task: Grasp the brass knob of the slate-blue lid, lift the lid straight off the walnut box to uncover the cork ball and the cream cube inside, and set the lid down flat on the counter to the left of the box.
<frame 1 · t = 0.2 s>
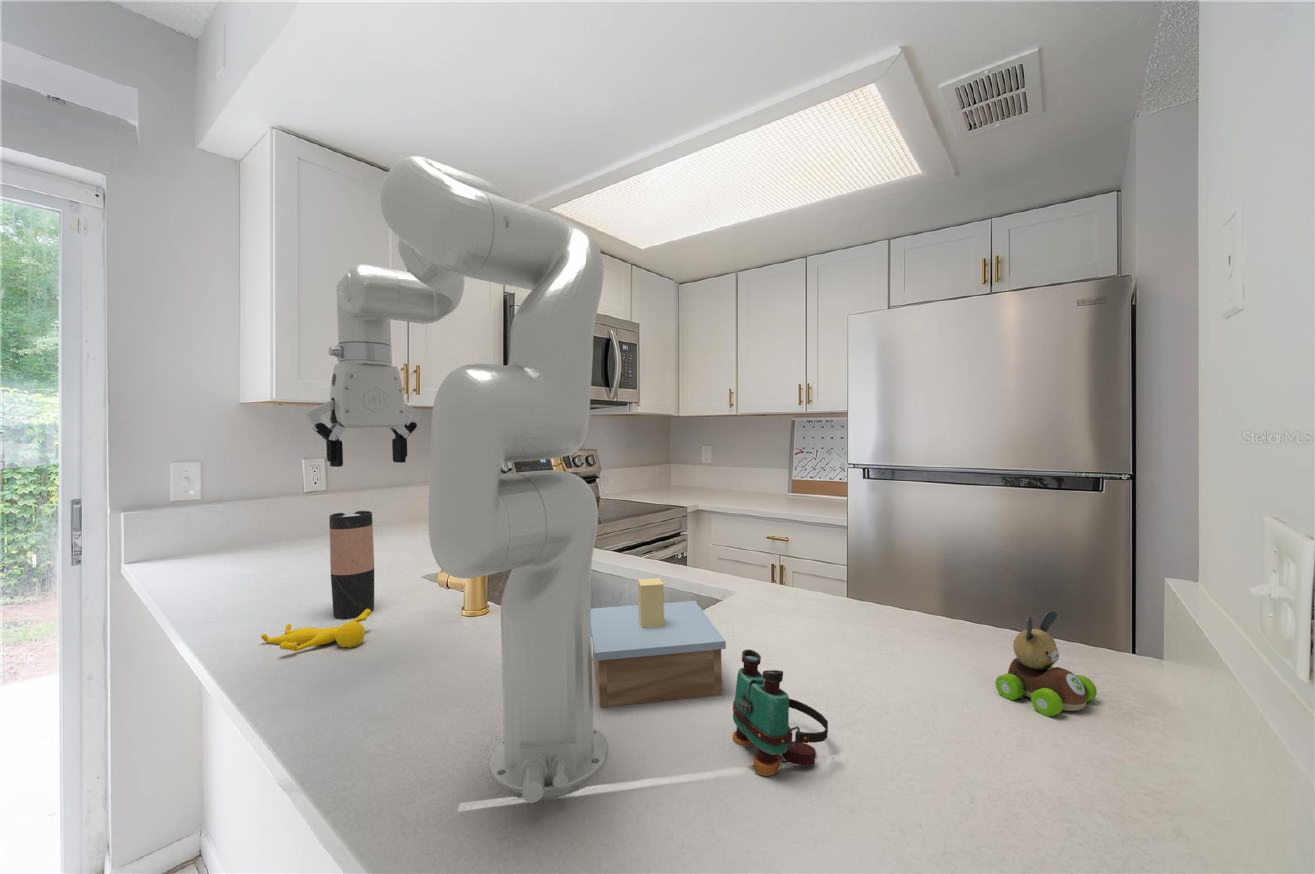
hand: (369, 464, 88), 31 cm above the worktop, tool pointing down, fingers open, 9 cm apart
toy car: (1045, 700, 71), on the worktop
figurine: (316, 645, 95), on the worktop
cork ball: (637, 684, 75), point 1 cm above the worktop, touching box
travel mug: (354, 614, 110), on the worktop
box: (652, 678, 79), on the worktop
lid: (651, 630, 79), point 7 cm above the worktop, touching box
binoculars: (778, 753, 61), on the worktop
cream cube: (666, 664, 82), point 1 cm above the worktop, touching box
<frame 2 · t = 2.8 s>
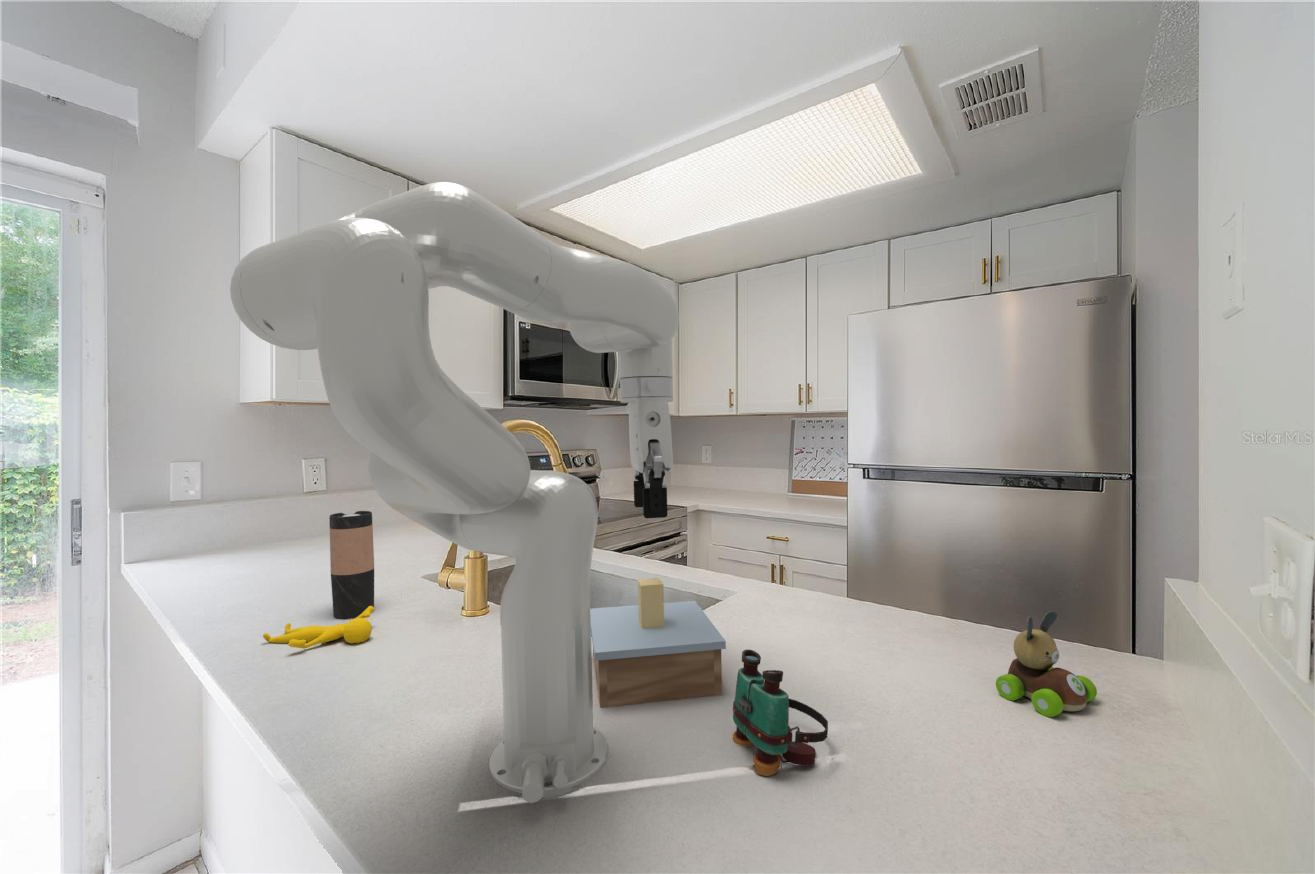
hand: (649, 511, 78), 24 cm above the worktop, tool pointing down, fingers open, 9 cm apart
figurine: (321, 642, 96), on the worktop
everything else where it was.
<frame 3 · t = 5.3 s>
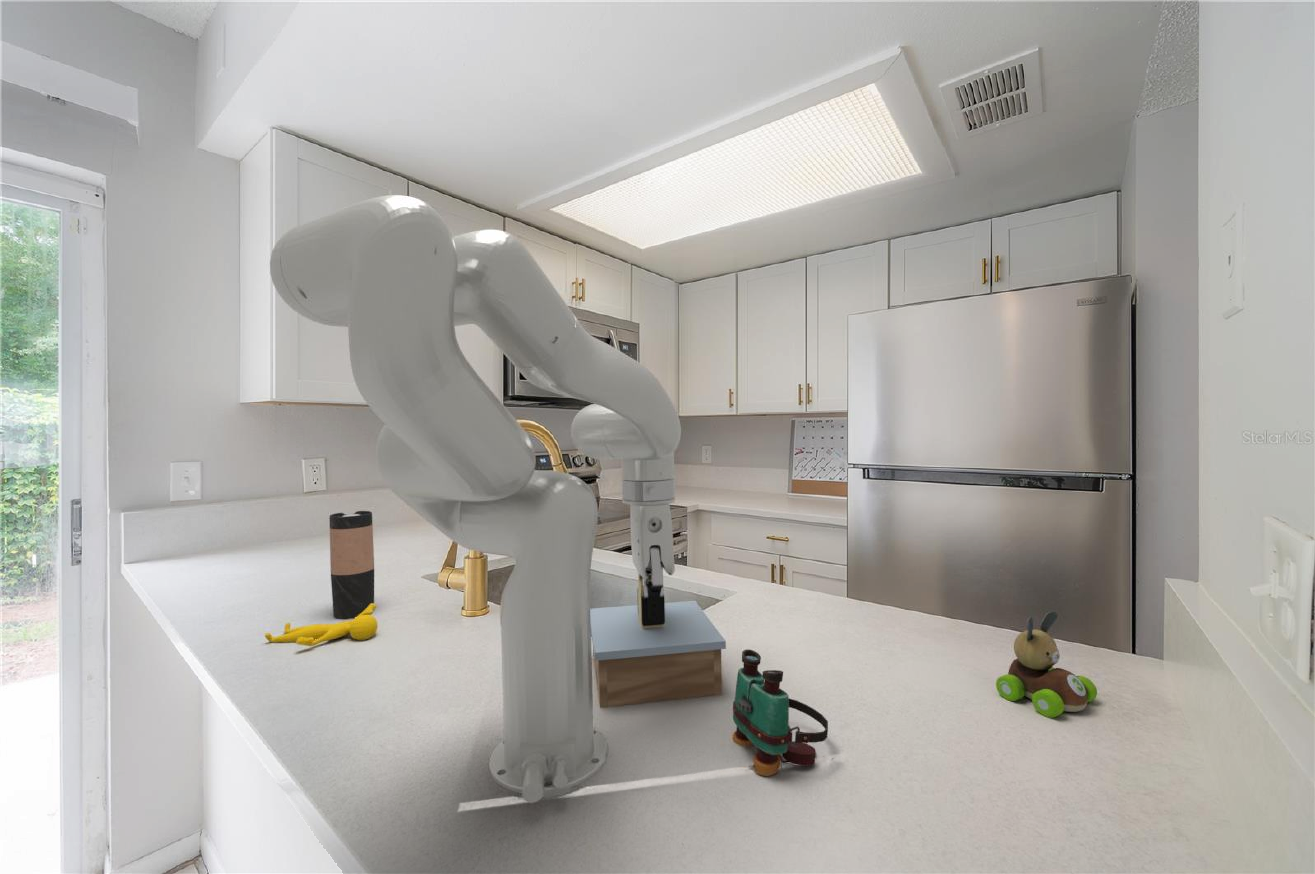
hand: (651, 618, 79), 9 cm above the worktop, tool pointing down, fingers closed on lid, 3 cm apart
figurine: (325, 640, 97), on the worktop
lid: (651, 630, 79), point 7 cm above the worktop, touching box, gripper
everything else where it was.
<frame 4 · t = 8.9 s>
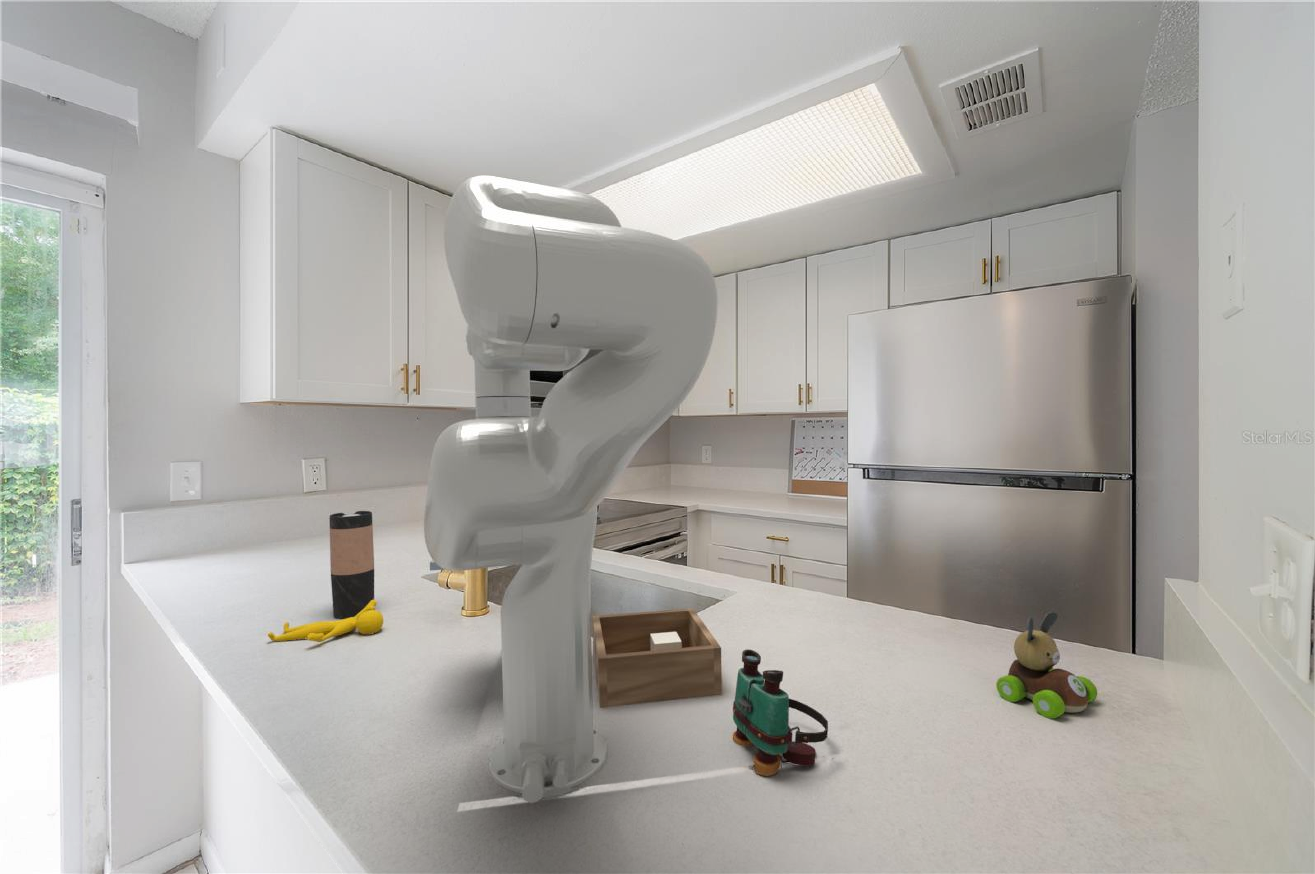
hand: (506, 539, 78), 21 cm above the worktop, tool pointing down, fingers closed on lid, 3 cm apart
figurine: (330, 637, 99), on the worktop
lid: (507, 551, 78), point 19 cm above the worktop, touching gripper
everything else where it was.
when the fingers open (3 cm above the worktop, at t = 12.5 s): lid drops 2 cm, on the worktop.
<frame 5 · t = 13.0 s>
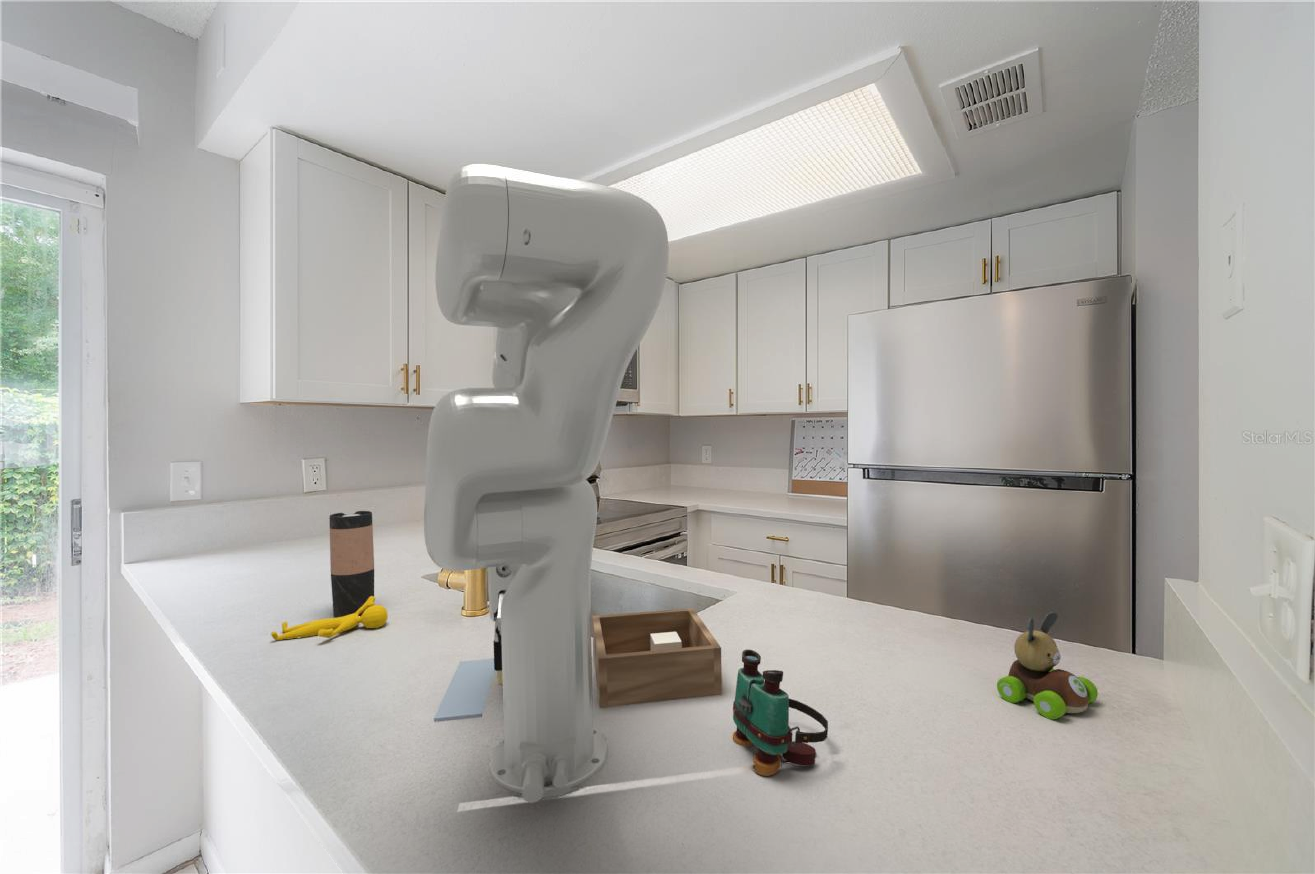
hand: (510, 655, 78), 4 cm above the worktop, tool pointing down, fingers open, 8 cm apart
figurine: (333, 633, 100), on the worktop
lid: (511, 688, 78), on the worktop
everything else where it was.
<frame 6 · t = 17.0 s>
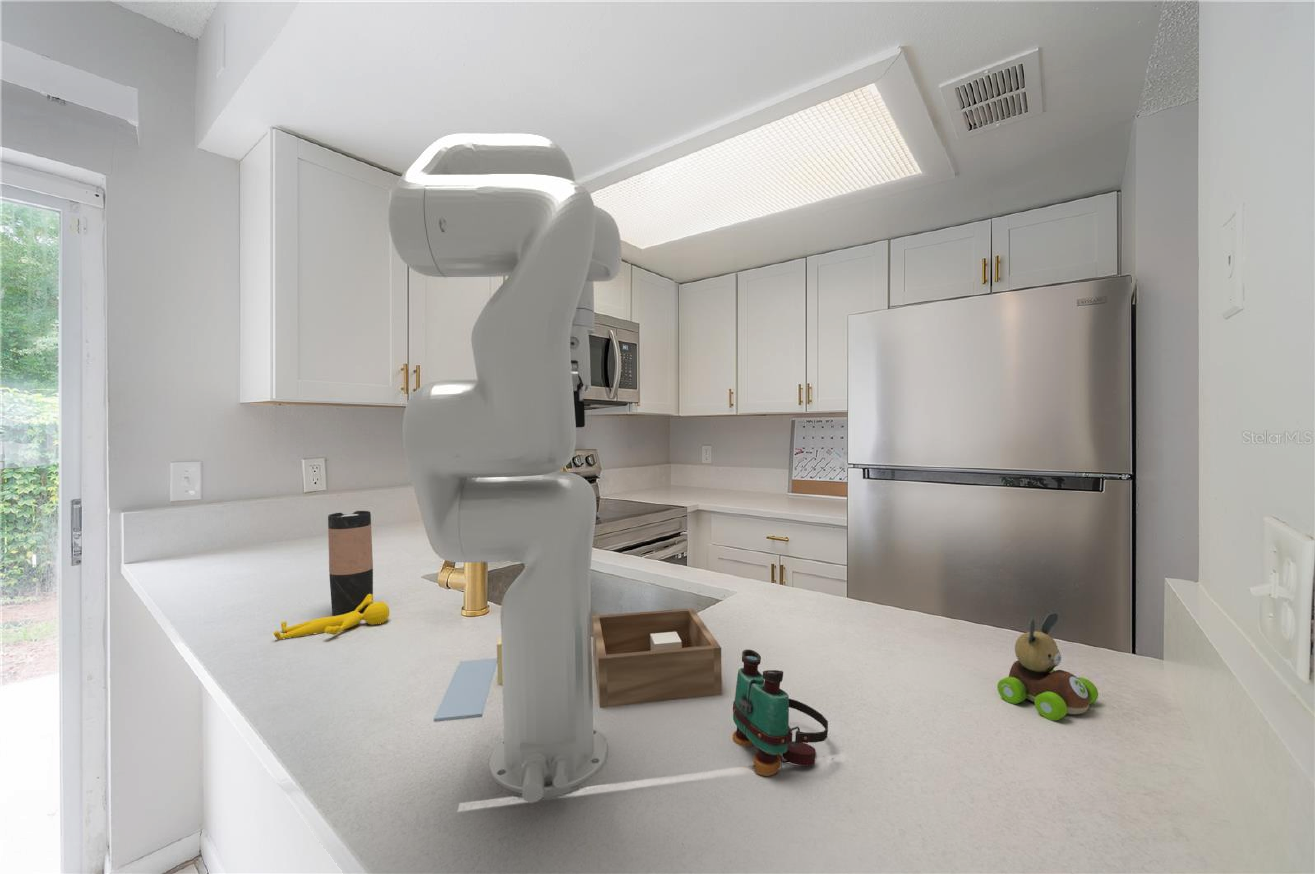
hand: (574, 427, 91), 36 cm above the worktop, tool pointing down, fingers open, 9 cm apart
figurine: (335, 631, 102), on the worktop
everything else where it was.
at the end: lid inside the target area (0.1 cm from its centre), on the worktop; lid tilted 0°; the gripper is holding nothing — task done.
